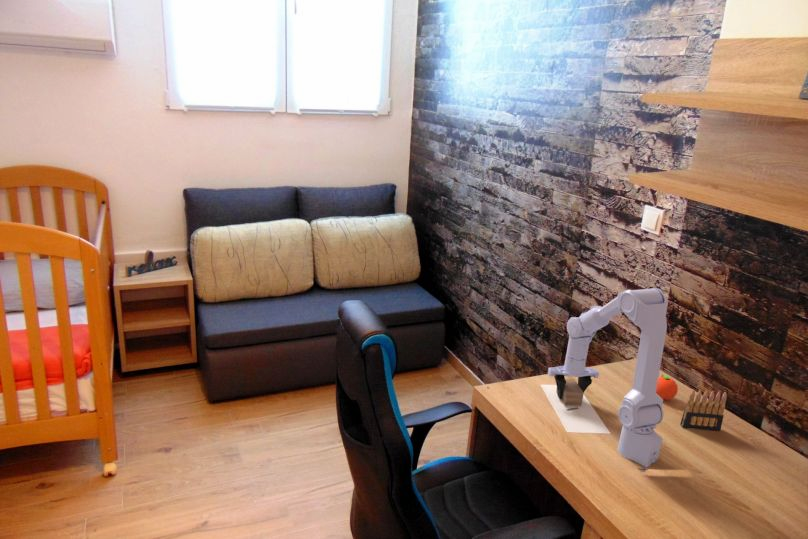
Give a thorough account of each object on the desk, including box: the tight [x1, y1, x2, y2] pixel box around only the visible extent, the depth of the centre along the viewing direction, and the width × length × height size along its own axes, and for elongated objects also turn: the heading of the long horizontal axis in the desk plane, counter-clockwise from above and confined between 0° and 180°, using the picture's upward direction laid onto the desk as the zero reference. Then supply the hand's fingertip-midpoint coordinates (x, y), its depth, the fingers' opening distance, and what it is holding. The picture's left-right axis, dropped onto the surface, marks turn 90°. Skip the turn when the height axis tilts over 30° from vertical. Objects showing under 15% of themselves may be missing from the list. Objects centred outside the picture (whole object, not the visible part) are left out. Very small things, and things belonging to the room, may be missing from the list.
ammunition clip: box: [679, 388, 728, 432], centre depth 170 cm, size 11×2×12 cm, turn 88°
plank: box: [539, 384, 611, 435], centre depth 175 cm, size 26×12×1 cm, turn 4°
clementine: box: [656, 375, 679, 400], centre depth 187 cm, size 8×7×7 cm
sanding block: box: [556, 378, 585, 407], centre depth 179 cm, size 8×5×5 cm, turn 4°
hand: (568, 397), depth 179 cm, fingers closed on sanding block, 5 cm apart
